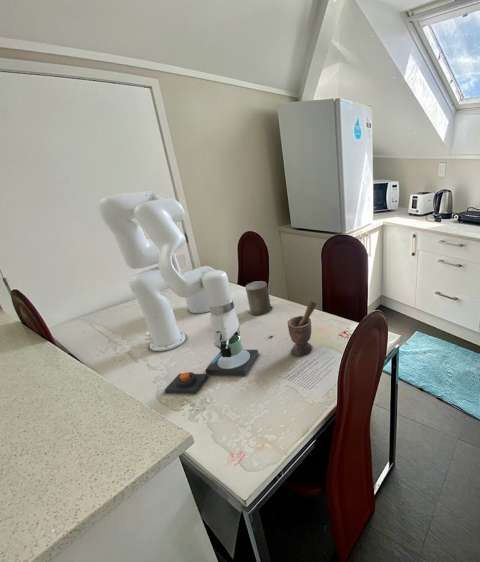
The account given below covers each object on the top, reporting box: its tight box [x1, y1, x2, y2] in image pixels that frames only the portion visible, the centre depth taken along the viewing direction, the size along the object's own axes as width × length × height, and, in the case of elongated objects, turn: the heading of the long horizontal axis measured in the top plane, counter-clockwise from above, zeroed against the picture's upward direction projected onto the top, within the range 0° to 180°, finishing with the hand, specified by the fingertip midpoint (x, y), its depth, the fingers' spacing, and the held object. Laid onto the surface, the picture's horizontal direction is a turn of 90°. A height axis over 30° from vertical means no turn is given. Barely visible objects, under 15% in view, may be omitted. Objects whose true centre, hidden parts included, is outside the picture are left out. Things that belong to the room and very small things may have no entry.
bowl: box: [222, 334, 243, 356], centre depth 111 cm, size 7×7×5 cm
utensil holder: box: [184, 290, 210, 314], centre depth 153 cm, size 15×15×18 cm
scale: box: [205, 349, 260, 377], centre depth 114 cm, size 14×12×3 cm
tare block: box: [164, 371, 209, 395], centre depth 105 cm, size 10×8×3 cm
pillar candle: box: [244, 280, 272, 316], centre depth 150 cm, size 10×10×15 cm
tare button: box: [180, 372, 190, 382], centre depth 104 cm, size 3×3×2 cm
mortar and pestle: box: [287, 299, 317, 356], centre depth 120 cm, size 12×9×20 cm
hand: (232, 349), depth 112 cm, fingers closed on bowl, 6 cm apart
